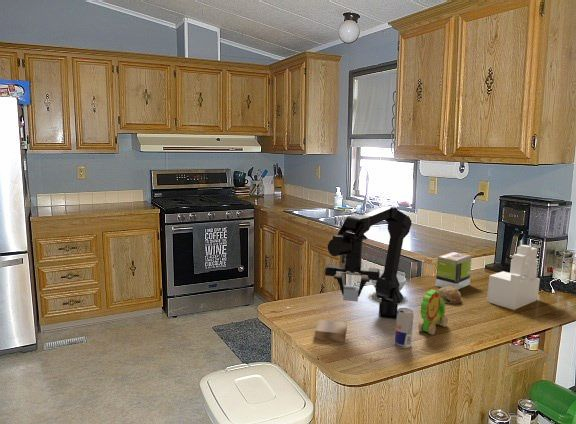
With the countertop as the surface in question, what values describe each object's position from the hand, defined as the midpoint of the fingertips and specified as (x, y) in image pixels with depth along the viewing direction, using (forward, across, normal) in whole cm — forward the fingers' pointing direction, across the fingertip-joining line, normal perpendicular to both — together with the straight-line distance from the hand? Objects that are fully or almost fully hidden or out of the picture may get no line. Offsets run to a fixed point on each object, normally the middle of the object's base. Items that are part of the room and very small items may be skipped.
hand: (350, 295), depth 161 cm
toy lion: (+12, -29, -8) cm, 33 cm away
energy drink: (+13, -18, +8) cm, 24 cm away
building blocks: (+11, -68, -50) cm, 85 cm away
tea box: (+12, -45, -65) cm, 80 cm away
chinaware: (+12, -14, -43) cm, 47 cm away
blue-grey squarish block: (+1, 0, 0) cm, 1 cm away
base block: (+12, +6, +6) cm, 15 cm away
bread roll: (+12, -40, -43) cm, 60 cm away
